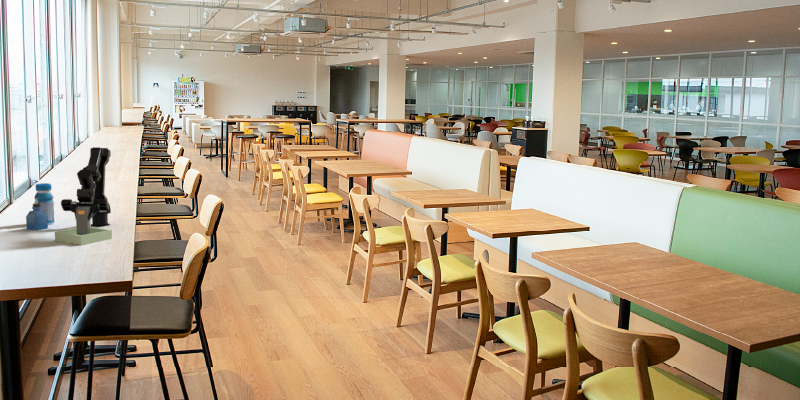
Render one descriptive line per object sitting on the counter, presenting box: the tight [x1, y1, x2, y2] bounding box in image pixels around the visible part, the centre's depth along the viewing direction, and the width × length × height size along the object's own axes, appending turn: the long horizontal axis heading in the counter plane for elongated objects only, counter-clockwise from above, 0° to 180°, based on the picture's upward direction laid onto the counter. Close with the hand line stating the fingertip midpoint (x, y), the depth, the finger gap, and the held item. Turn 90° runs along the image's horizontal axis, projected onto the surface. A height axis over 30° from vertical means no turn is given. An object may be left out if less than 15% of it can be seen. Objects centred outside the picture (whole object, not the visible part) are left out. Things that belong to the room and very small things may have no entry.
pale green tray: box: [54, 226, 113, 246], centre depth 268 cm, size 16×16×4 cm
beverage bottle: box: [33, 183, 55, 226], centre depth 298 cm, size 8×8×20 cm
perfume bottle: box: [25, 203, 49, 232], centre depth 286 cm, size 6×6×12 cm
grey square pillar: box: [75, 207, 91, 235], centre depth 267 cm, size 5×4×12 cm
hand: (82, 220), depth 266 cm, fingers closed on grey square pillar, 4 cm apart
